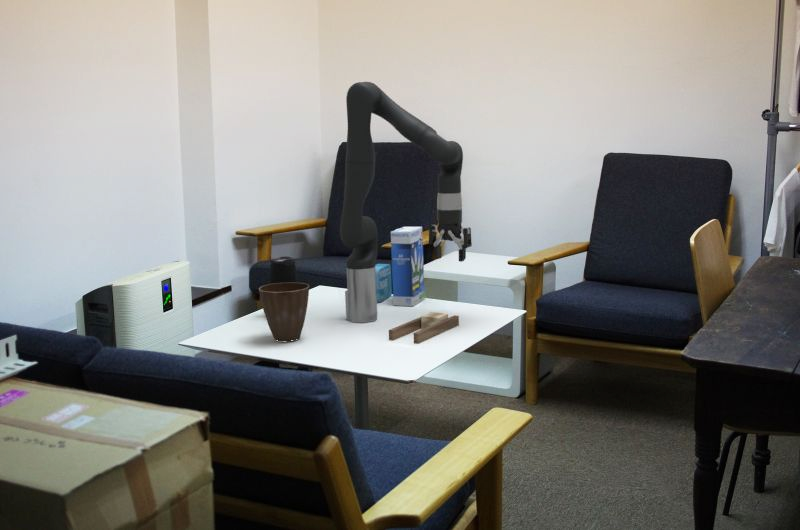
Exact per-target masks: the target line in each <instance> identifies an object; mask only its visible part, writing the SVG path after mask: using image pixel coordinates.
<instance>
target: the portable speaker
mask: <svg viewBox="0 0 800 530" xmlns="http://www.w3.org/2000/svg"><path fill="white" fill-rule="evenodd" d="M269 263H270V264H269V271H268V282H269V284H275V283H287V282H296V283H299V281H298V280H299V279H298V278H299V277H298V272H297V267H296V262H295V258H293V257H291V256H286V255H285V256H279V257H277V258H270V260H269Z"/></svg>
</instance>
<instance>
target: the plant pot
mask: <svg viewBox="0 0 800 530" xmlns="http://www.w3.org/2000/svg"><path fill="white" fill-rule="evenodd" d="M258 292H259V298H260V303H261V306H262V309H263V313H264V315H265V319H266V320H265V321H266V322H267V325H268V327H269V331H270V332H271V334H272V337H273V340H274V341H275V340H278V341H291V340H296V339H298V340H300V338H301V335H302V332H303V328H304V325H305V320H306V314H307V312H308V311H307V310H308V309H307V308H308V304H309V294H310V285H309V283H304V282H298V283H296V282H287V283H275V284H266V285H265V284H264V285H262V286H260V287H259V288H258ZM278 341H277V342H278ZM296 341H297V340H296ZM291 342H292V341H291Z"/></svg>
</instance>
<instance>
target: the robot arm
mask: <svg viewBox="0 0 800 530" xmlns="http://www.w3.org/2000/svg"><path fill="white" fill-rule="evenodd" d="M345 100H346V115H347V116H346V117H347V131H346V132H347V135H346V151H345V152H346V154H345V163H344V164H345V165H344V166H345V167H344V168H345V169H344V171H345V172H344V173H345V174H344V176H345V177H344V191H343V205H342V212H341V217H340V225H339V237H340V240H341V242H342V244H343V245H344V246H345V247H347V248H351V249H352V252H351V253H350V255H349V256H348V257H347V258H346V259H345V260H346V261H345V262H346V263H345V265H346V285H347V290H345V291H344V297H345V298H344V299H345V316H346V317H345V320H346V321H349V322H352V323H369V322H370V323H371V322H374V321H376V320H378V302H377V295H376V272H375V265H376V261H377V258H378V242H379V241H378V240H379V239H378V228H377V225H376V224H377V223H376V222H375V220H374V219H373V218H371V217H369V216H364V215H363V214H364V213H363V212H364V211H363V210H364V205H365V201H366V198H367V197H368V194H369V192H370V189H371V187H372V185H373V182H374V179H375V176H376V175H375V172H376V151H375V146H374V141H373V139H372V133H371V132H372V131H371V123H372V122H371V121H372V115H373V114H374V115H376V116H378V117H380V118H381V119H382V120H385V121H386V122H387V123H389V125H391V126H392V127H393V128H394V129H395V130H396V131H397V132H398V133H399V134H400V135H401V136H402V137H404V139H406V140H407V141H409V142H411V143H412V144H414V145H415V146H417V147H418V148H420V149H422V150H423V151H424V152H425V153H426V155H428V156H429V157H430V158H431V159H433V160H434V161H436V163H438V164H440V173H439V175H438V177H437V198H436V199H437V200H436V203H437V204H436V206H437V207H436V209H437V210H436V213H437V214H436V215H437V216H436V218H437V224H430V225H429V226H428V227H429V228H428V244H429V245H433V247H434V248H433V249H434V257H435V259H436V260H440V259H441V258H442V254H443V253H442V246H441V245H442V244H443V242H445V241H449V242H454V243H455V245H457V247H458V262H461V263H462V262H464V261H465V260H466V257H467V250H466V249H468V248H470V247H472V228H471V227H462V222H463V199H462V179H461V178H462V177H461V176H462V171H463V170H462V169H463V160H464V154H463V153H464V152H463V148H462V146H461V144H459V143H458V142H457V141H453V140H446V139H445V138H444V137H442V136H440V135H439V134H438V132H437V131H436V130H435V129H434V128H433V127H431V126H430V125H429V124H426V122H424V121H422V120H421V119H419V118H418V117H417V116H415V115H413V114H412V113H410V112H409V111H407V110H406V109H404V108H403V107H401V105H400V104H398V103H397V102H395V101H394V100H393V99H392V98H390V96H389V95H387V93H385V91H383V90H382V89H381V88H380V87H379V86H378V85H376V84H375V83H374V82H371V81H358V82H355V83H353V84H352V85H351V86H350V87H349V88H348V89H347V92H346V99H345ZM437 232H438V235H437ZM462 235H463V236H462Z"/></svg>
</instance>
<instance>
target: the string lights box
mask: <svg viewBox="0 0 800 530" xmlns="http://www.w3.org/2000/svg"><path fill="white" fill-rule="evenodd" d="M423 239H424V238H423V226H402V227H400V228H396V229H395V230H392V231H390V244H391V245H390V247H391V248H390V249H391V252H390V253H391V280H392V301H393V303H392V305H393V306H399V307H414V306H415V305H417V304H418V303H420V302H422V301H424V300H425V299H426V295H425V292H426V291H425V272H424V270H425V269H424V267H425V265H424V245H423V243H424V242H423Z"/></svg>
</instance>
